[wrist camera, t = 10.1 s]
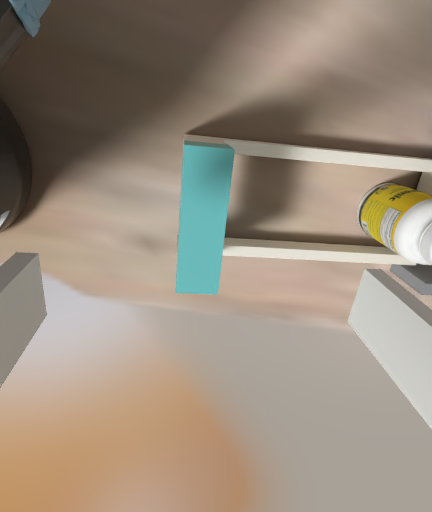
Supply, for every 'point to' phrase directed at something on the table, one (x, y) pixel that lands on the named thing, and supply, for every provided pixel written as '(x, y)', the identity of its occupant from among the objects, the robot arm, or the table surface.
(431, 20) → the table surface
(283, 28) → the table surface
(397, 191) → the supplement bottle
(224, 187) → the drawer
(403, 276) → the grey u-shaped bracket
